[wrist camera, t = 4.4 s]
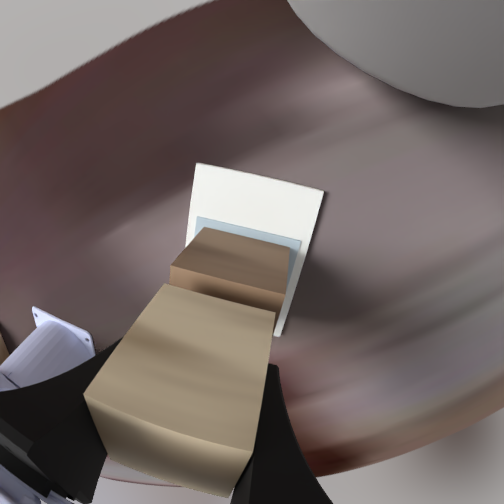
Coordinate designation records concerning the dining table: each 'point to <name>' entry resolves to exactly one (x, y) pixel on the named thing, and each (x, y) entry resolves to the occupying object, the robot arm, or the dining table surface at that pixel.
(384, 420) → the dining table surface
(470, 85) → the jar
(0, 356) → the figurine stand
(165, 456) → the maple block
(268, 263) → the walnut block
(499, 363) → the dining table surface
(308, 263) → the dining table surface
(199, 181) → the white flat plate
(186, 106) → the dining table surface
